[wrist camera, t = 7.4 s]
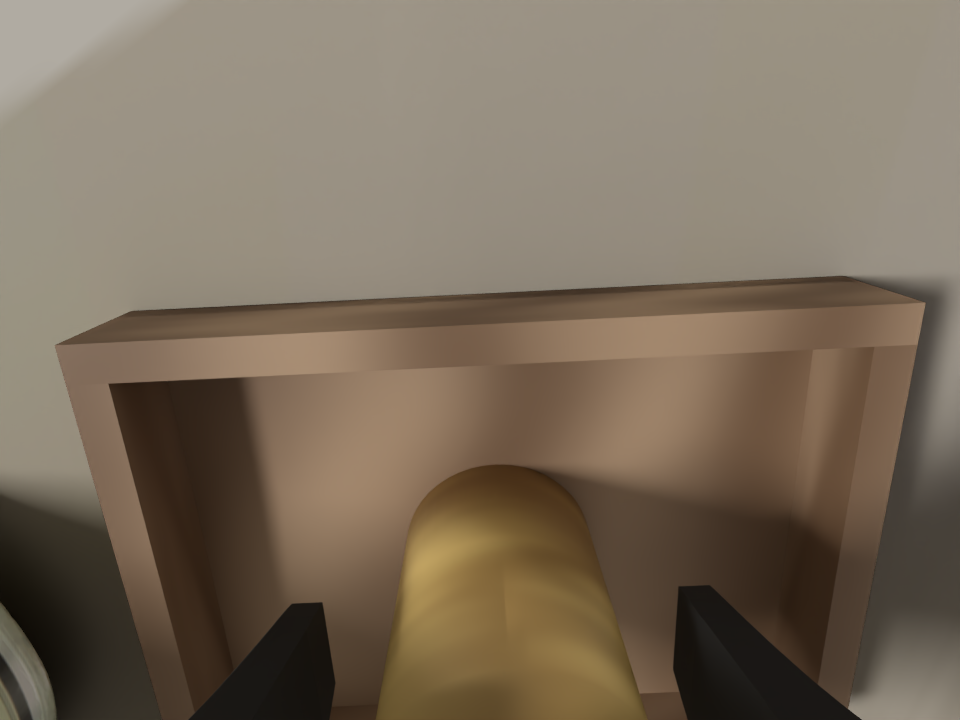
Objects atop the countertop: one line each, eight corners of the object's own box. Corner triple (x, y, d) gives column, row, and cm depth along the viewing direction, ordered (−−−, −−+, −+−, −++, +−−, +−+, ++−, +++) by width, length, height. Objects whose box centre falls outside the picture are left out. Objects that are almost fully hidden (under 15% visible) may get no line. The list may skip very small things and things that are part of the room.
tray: (843, 275, 13) (925, 302, 11) (783, 690, 17) (834, 779, 15) (130, 311, 14) (54, 345, 11) (227, 714, 17) (186, 806, 15)
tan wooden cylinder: (611, 484, 14) (700, 696, 9) (562, 631, 16) (612, 898, 10) (426, 448, 14) (394, 645, 8) (393, 602, 15) (346, 862, 10)
